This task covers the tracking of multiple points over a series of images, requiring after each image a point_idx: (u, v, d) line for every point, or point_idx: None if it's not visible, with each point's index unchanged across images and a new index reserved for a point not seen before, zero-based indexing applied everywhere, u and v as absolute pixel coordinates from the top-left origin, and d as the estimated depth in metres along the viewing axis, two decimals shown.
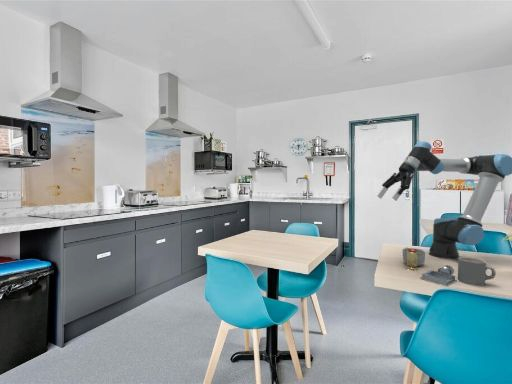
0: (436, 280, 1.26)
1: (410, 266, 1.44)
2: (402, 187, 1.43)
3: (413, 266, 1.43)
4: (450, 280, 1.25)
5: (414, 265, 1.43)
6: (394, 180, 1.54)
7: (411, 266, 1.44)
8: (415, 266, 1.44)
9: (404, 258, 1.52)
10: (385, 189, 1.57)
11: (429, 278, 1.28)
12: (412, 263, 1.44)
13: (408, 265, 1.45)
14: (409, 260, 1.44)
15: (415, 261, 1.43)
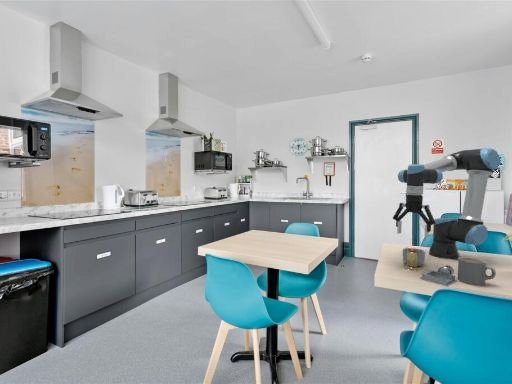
0: (436, 280, 1.26)
1: (410, 266, 1.44)
2: (429, 224, 1.38)
3: (413, 266, 1.43)
4: (450, 280, 1.25)
5: (414, 265, 1.43)
6: (406, 212, 1.47)
7: (411, 266, 1.44)
8: (415, 266, 1.44)
9: (404, 258, 1.52)
10: (400, 222, 1.50)
11: (429, 278, 1.28)
12: (412, 263, 1.44)
13: (408, 265, 1.45)
14: (409, 260, 1.44)
15: (415, 261, 1.43)
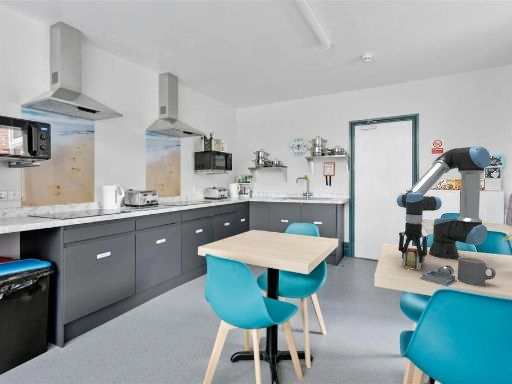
0: (436, 280, 1.26)
1: (410, 266, 1.44)
2: (421, 256, 1.41)
3: (413, 266, 1.43)
4: (450, 280, 1.25)
5: (414, 265, 1.43)
6: (408, 241, 1.46)
7: (411, 266, 1.44)
8: (415, 266, 1.44)
9: None
10: (406, 254, 1.48)
11: (429, 278, 1.28)
12: (412, 263, 1.44)
13: (408, 265, 1.45)
14: (409, 260, 1.44)
15: (415, 261, 1.43)
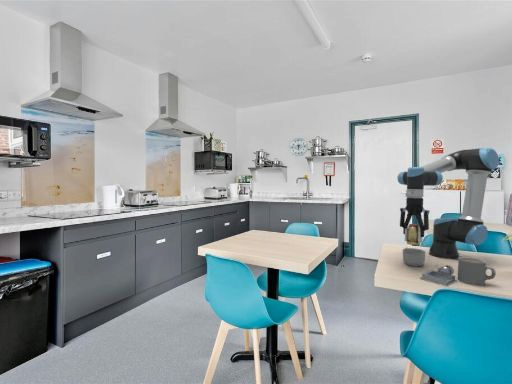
0: (436, 280, 1.26)
1: (411, 241, 1.44)
2: (422, 230, 1.41)
3: (414, 241, 1.43)
4: (450, 280, 1.25)
5: (415, 240, 1.43)
6: (410, 216, 1.46)
7: (412, 241, 1.43)
8: (416, 241, 1.43)
9: (404, 258, 1.52)
10: (407, 230, 1.47)
11: (429, 278, 1.28)
12: (413, 238, 1.43)
13: (409, 240, 1.44)
14: (411, 235, 1.44)
15: (416, 236, 1.43)
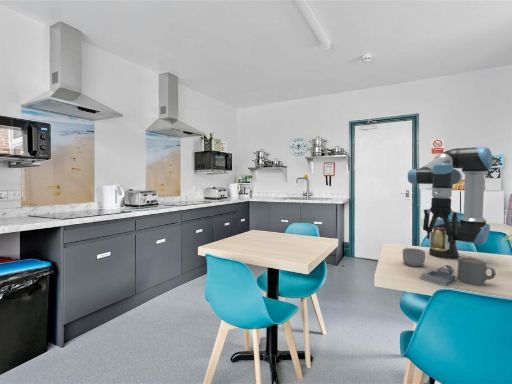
0: (436, 280, 1.26)
1: (437, 246, 1.27)
2: (450, 235, 1.25)
3: (441, 246, 1.27)
4: (450, 280, 1.25)
5: (442, 245, 1.27)
6: (435, 219, 1.30)
7: (438, 246, 1.27)
8: (443, 246, 1.27)
9: (404, 258, 1.52)
10: (432, 234, 1.31)
11: (429, 278, 1.28)
12: (440, 243, 1.27)
13: (435, 245, 1.28)
14: (436, 240, 1.28)
15: (443, 241, 1.27)
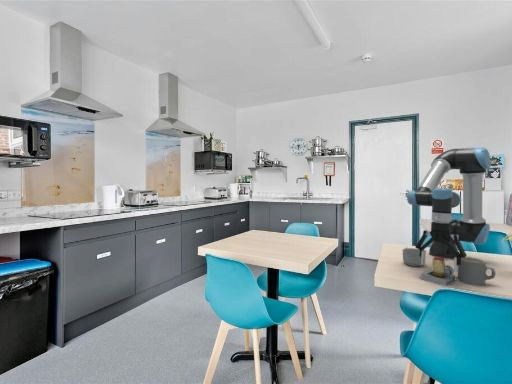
0: (436, 280, 1.26)
1: (437, 276, 1.28)
2: (459, 257, 1.22)
3: (440, 276, 1.27)
4: (450, 280, 1.25)
5: (442, 275, 1.27)
6: (432, 241, 1.31)
7: (438, 276, 1.28)
8: (443, 276, 1.27)
9: (404, 258, 1.52)
10: (424, 252, 1.34)
11: (429, 278, 1.28)
12: (439, 273, 1.27)
13: (434, 275, 1.29)
14: (436, 270, 1.28)
15: (443, 270, 1.27)
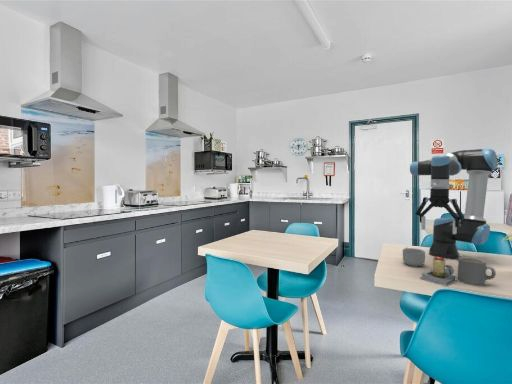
0: (436, 280, 1.26)
1: (437, 276, 1.28)
2: (458, 219, 1.30)
3: (440, 276, 1.27)
4: (450, 280, 1.25)
5: (442, 275, 1.27)
6: (431, 207, 1.39)
7: (438, 276, 1.28)
8: (443, 276, 1.27)
9: (404, 258, 1.52)
10: (424, 218, 1.42)
11: (429, 278, 1.28)
12: (439, 273, 1.27)
13: (434, 275, 1.29)
14: (436, 270, 1.28)
15: (443, 270, 1.27)
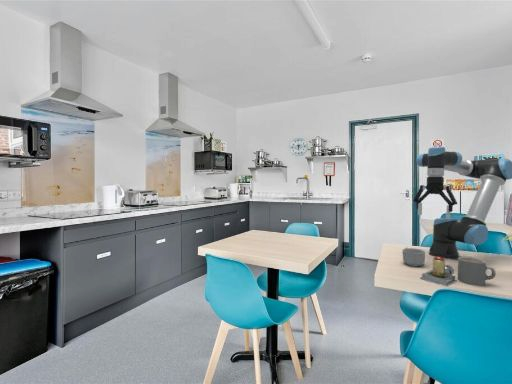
0: (436, 280, 1.26)
1: (437, 276, 1.28)
2: (451, 205, 1.42)
3: (440, 276, 1.27)
4: (450, 280, 1.25)
5: (442, 275, 1.27)
6: (427, 194, 1.51)
7: (438, 276, 1.28)
8: (443, 276, 1.27)
9: (404, 258, 1.52)
10: (421, 204, 1.54)
11: (429, 278, 1.28)
12: (439, 273, 1.27)
13: (434, 275, 1.29)
14: (436, 270, 1.28)
15: (443, 270, 1.27)
